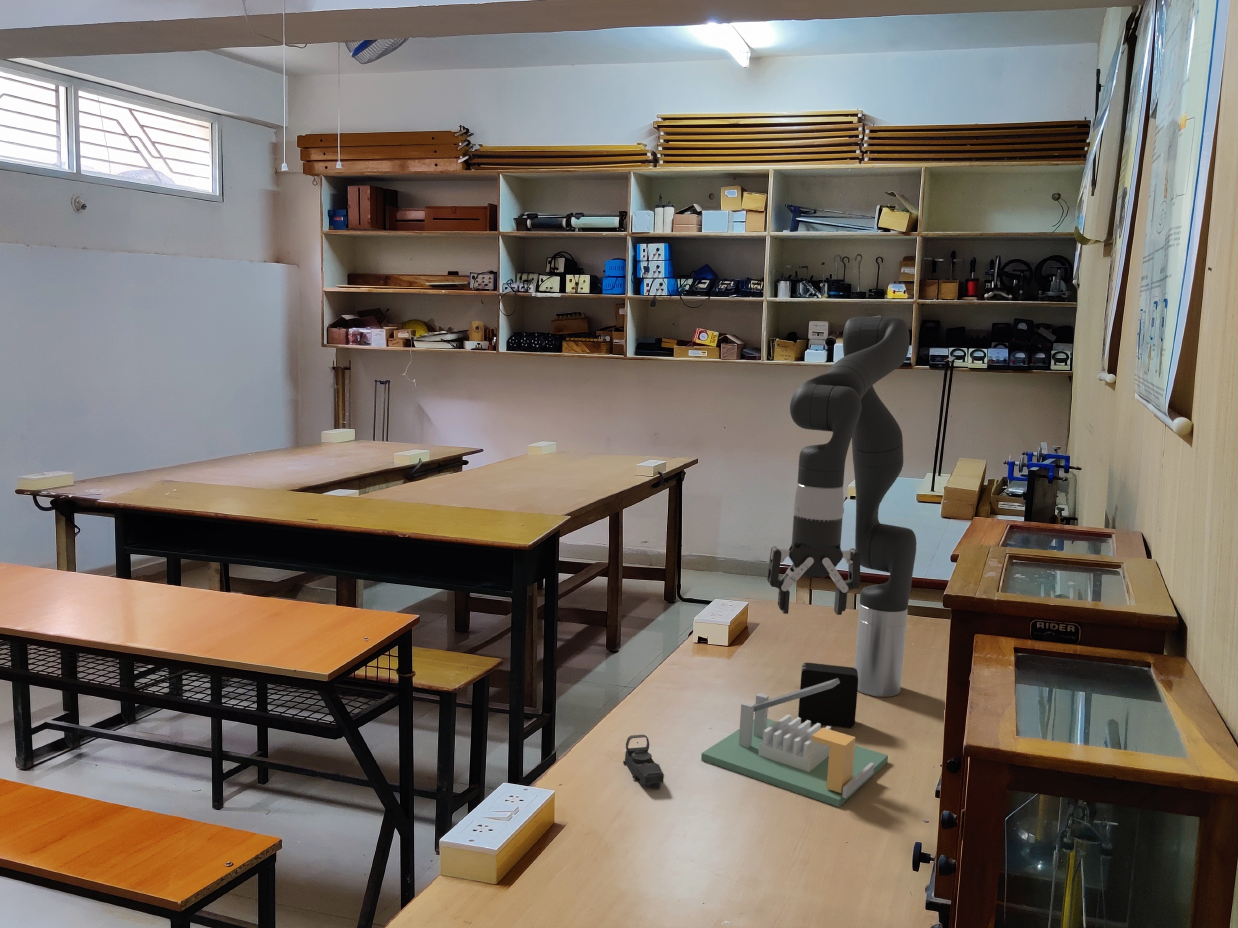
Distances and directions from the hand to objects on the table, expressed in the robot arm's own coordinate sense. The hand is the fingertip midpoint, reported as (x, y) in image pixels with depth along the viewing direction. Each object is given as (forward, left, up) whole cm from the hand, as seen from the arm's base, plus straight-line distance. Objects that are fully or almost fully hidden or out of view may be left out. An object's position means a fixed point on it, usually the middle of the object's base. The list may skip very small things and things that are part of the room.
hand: (811, 612), depth 156 cm
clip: (+5, +7, -25) cm, 26 cm away
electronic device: (-21, -5, -26) cm, 34 cm away
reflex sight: (+19, -18, -26) cm, 37 cm away
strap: (-2, -3, -16) cm, 16 cm away
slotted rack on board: (-2, -2, -26) cm, 26 cm away
